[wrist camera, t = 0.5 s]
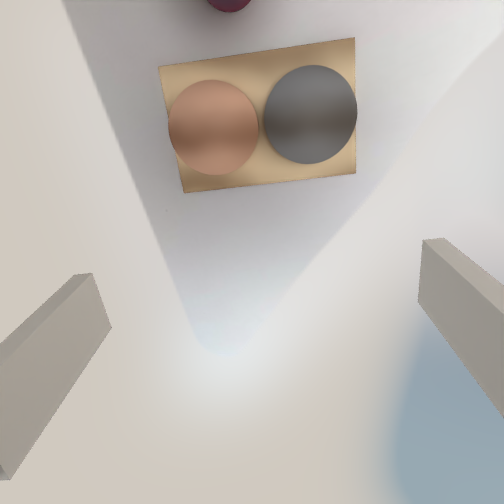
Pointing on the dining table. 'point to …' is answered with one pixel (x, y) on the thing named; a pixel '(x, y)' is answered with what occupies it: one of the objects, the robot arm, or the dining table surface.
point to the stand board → (263, 116)
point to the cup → (229, 4)
